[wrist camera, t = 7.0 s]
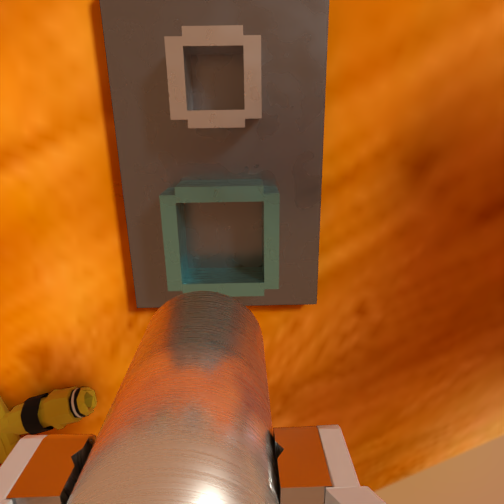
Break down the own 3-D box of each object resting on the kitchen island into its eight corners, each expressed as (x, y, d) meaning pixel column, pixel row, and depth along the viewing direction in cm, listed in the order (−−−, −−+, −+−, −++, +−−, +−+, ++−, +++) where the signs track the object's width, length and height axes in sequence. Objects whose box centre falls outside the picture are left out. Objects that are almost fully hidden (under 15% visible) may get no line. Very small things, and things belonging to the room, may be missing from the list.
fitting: (262, 289, 13) (330, 772, 3) (263, 391, 14) (313, 960, 4) (139, 292, 13) (-166, 799, 3) (151, 395, 14) (-41, 983, 4)
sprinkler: (116, 498, 33) (-48, 541, 34) (130, 463, 37) (-16, 503, 38) (26, 285, 29) (-155, 339, 30) (53, 272, 33) (-108, 320, 34)
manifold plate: (325, -19, 25) (341, -48, 21) (313, 295, 32) (323, 322, 28) (105, -16, 25) (75, -44, 20) (141, 299, 32) (125, 327, 27)
